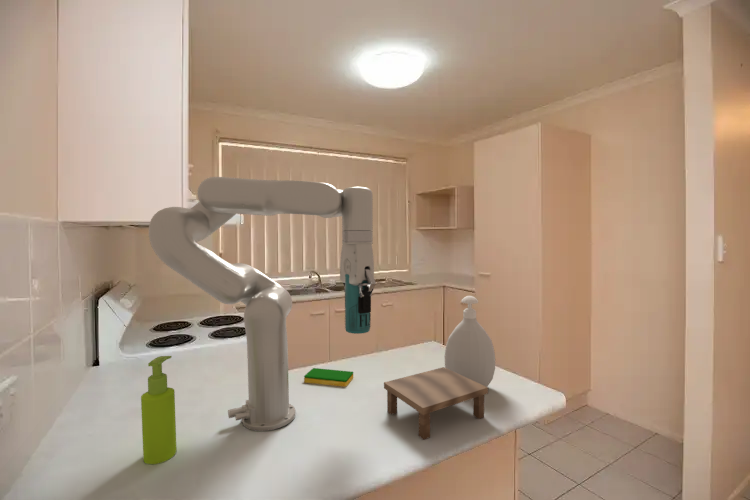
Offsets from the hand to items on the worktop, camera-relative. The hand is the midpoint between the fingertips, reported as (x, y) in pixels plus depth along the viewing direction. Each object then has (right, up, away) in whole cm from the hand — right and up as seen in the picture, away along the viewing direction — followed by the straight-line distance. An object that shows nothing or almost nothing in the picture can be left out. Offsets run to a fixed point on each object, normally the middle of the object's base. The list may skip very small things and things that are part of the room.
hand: (357, 309), depth 90 cm
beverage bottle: (0, -7, 0) cm, 7 cm away
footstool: (+19, -26, +1) cm, 33 cm away
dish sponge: (-10, -26, +23) cm, 36 cm away
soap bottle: (+33, -26, +18) cm, 45 cm away
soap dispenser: (-40, -28, -15) cm, 51 cm away
